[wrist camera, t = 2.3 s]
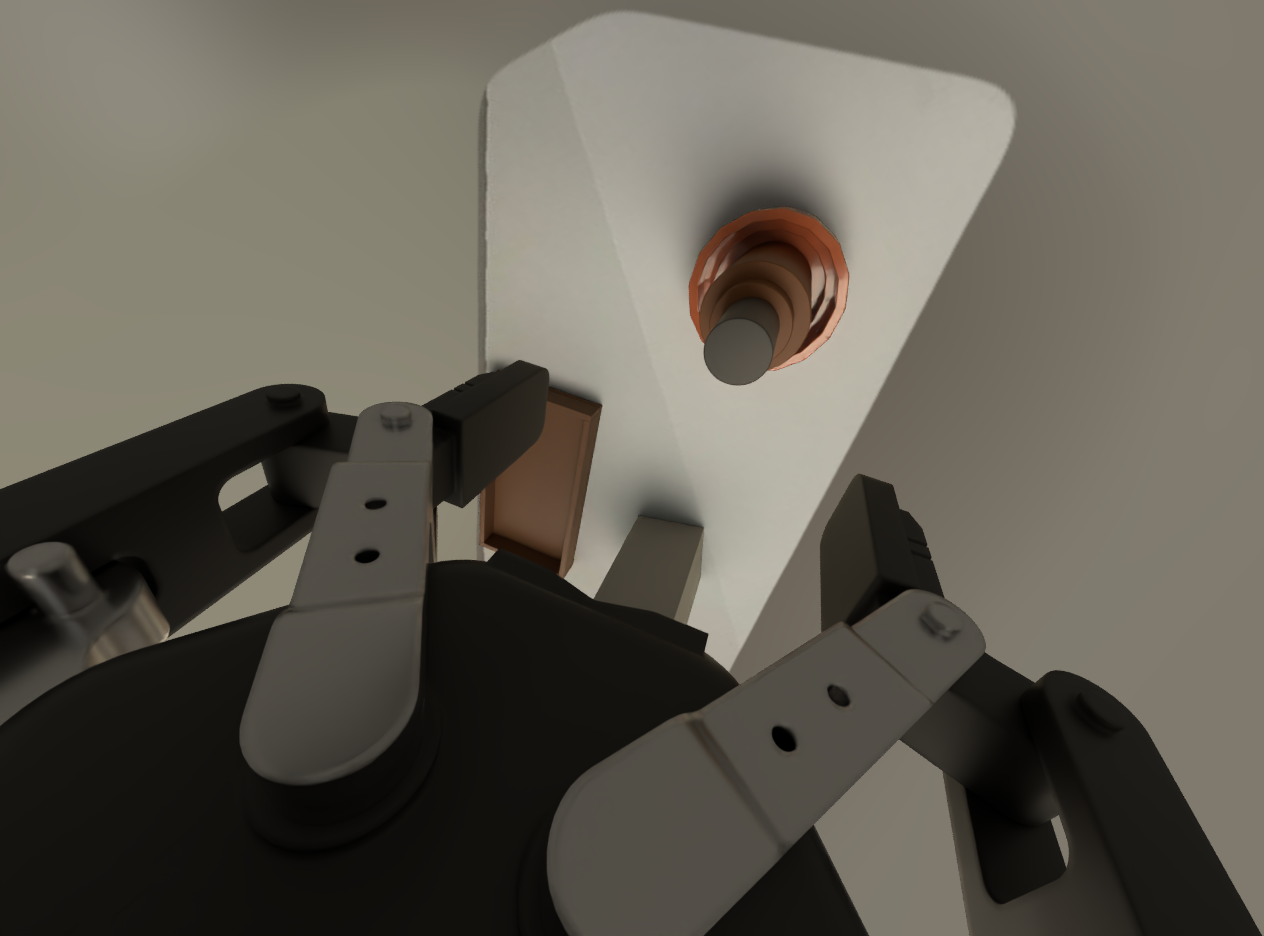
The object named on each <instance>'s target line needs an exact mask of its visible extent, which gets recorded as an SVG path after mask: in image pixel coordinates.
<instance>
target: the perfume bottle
mask: <svg viewBox="0 0 1264 936" xmlns="http://www.w3.org/2000/svg"><path fill="white" fill-rule="evenodd" d="M703 534H704V528H702V527H697V526H692V525H686V524H681V523H675V522H670V521H664V520H659V519H654V518H648V517H643V516H638V518H637V520H636V521H635V523H634V525H633V527H632V529H631V531H630V533H629V534H628V536H627V538H626V540H625V542H624V544H623V546H622V547H621V549H620V551H619V553H618V555H617V557H616V558H615V560H614V562H613V564H612V566H611V568H610V570H609V571H608V573H607V575H606V577H605V579H604V581H603V583H602V584H601V586H600V588H599V590H598V592H597V594H596V596H595V597H594V600H597V601H601V602H606V603H612V604H617V605H622V606H628V607H633V608H638V609H644V610H649V611H654V612H657V613H659V614H661V615H664V616H666V617H669V618H671V619H674V620H676V621H678V622H681V623H683V624H686V625H687V622H688V618H689V615H690V612H691V608H692V605H693V601H694V598H695V595H696V591H697V588H698V584H699V581H700V574H701V560H702V547H703Z"/></svg>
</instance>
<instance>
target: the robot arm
mask: <svg viewBox="0 0 1264 936" xmlns="http://www.w3.org/2000/svg"><path fill="white" fill-rule="evenodd" d="M548 386H549V372H548V370H547V369H546V368H543V367H540V366H537V365H534V364H531V363H528V362H525V361H522V360H518V361H516V362H515V363H513V364H511V365H509V366H507V367H506V368H504V369H502V370H500V371H499V372H498V371H495V372H490V373H485V374H481V375H477V376H476V377H474V378H472V379H470V380H468V381H466V382H465V384H461V385H459V386H457V387H456V388H454V390H450V391H448V392H446V393H444V394H442V395H441V396H439V397H437V398H435V399H433V400H431V401H429V402H428V403H426V404H424V405H422V406H420V405H417V404H413V403H408V402H386V403H380V404H376V405H373V406H371V407H368V408H367V409H365V410H363V411H362V412H361V413H360V415H359V417H357V416H351V415H345V414H338V413H332V412H328V410H327V405H326V400H325V395H324V394H323V392H321V391H320V390H318V389H316V388H314V387H311V386H306V385H300V384H279V385H271V386H266V387H262V388H259V389H256V390H253V391H251V392H248V393H246V394H243V395H240V396H238V397H236V398H233V399H230V400H228V401H225V402H223V403H220V404H218V405H215V406H213V407H210V408H207V409H205V410H202V411H200V412H197V413H194V414H192V415H189V416H187V417H184V418H182V419H179V420H176V421H174V422H171V423H169V424H167V425H164V426H161V427H159V428H156V429H153V430H151V431H148V432H146V433H143V434H141V435H138V436H135V437H133V438H130V439H128V440H125V441H123V442H120V443H117V444H115V445H112V446H110V447H107V448H105V449H102V450H100V451H97V452H94V453H92V454H89V455H87V456H84V457H82V458H79V459H77V460H74V461H71V462H69V463H66V464H64V465H61V466H59V467H56V468H53V469H51V470H48V471H46V472H43V473H41V474H38V475H35V476H33V477H30V478H28V479H25V480H23V481H20V482H18V483H15V484H12V485H10V486H7V487H5V488H2V489H0V936H869V935H868V933H867V931H866V929H865V927H864V925H863V923H862V921H861V919H860V917H859V915H858V913H857V911H856V909H855V907H854V905H853V903H852V901H851V899H850V897H849V895H848V893H847V891H846V889H845V887H844V885H843V883H842V881H841V879H840V877H839V875H838V873H837V870H836V868H835V866H834V864H833V863H832V861H831V858H830V856H829V854H828V852H827V850H826V848H825V846H824V844H823V843H822V840H821V838H820V836H819V834H818V832H817V830H816V828H815V826H814V824H815V823H816V822H817V821H818V819H820V818H821V816H823V815H824V814H825V813H826V812H827V811H828V809H830V807H832V806H833V805H834V804H835V802H837V801H838V799H840V798H841V797H842V796H843V795H844V794H845V793H846V792H847V791H848V790H849V789H850V788H851V787H852V786H853V785H854V784H855V782H857V781H858V780H859V779H860V778H861V777H862V776H863V775H864V773H866V772H867V770H869V769H870V768H871V767H872V766H873V764H875V763H876V762H877V761H878V760H879V759H880V758H881V757H882V756H883V754H885V753H886V751H888V750H889V749H890V748H891V747H892V746H893V745H894V744H895V743H896V741H897V740H901V741H902V742H903V743H905V744H906V745H908V746H909V747H910V748H912V749H913V750H915V751H916V752H917V753H919V754H920V755H921V756H923V757H924V758H926V759H927V760H928V761H930V762H931V763H932V764H934V765H935V766H937V767H938V768H939V769H941V770H942V771H943V777H944V783H945V789H946V795H947V802H948V807H949V814H950V820H951V826H952V832H953V838H954V845H955V851H956V857H957V863H958V869H959V875H960V881H961V888H962V894H963V900H964V906H965V912H966V918H967V924H968V930H969V936H1262V935H1261V933H1260V931H1259V929H1258V928H1257V926H1256V924H1255V922H1254V921H1253V919H1252V917H1251V915H1250V913H1249V911H1248V910H1247V908H1246V906H1245V904H1244V903H1243V901H1242V899H1241V897H1240V895H1239V894H1238V892H1237V890H1236V889H1235V887H1234V885H1233V883H1232V881H1231V880H1230V878H1229V876H1228V874H1227V872H1226V871H1225V869H1224V867H1223V865H1222V863H1221V862H1220V860H1219V858H1218V856H1217V855H1216V853H1215V851H1214V849H1213V847H1212V846H1211V844H1210V842H1209V840H1208V839H1207V837H1206V835H1205V833H1204V832H1203V830H1202V828H1201V826H1200V824H1199V823H1198V821H1197V819H1196V817H1195V816H1194V814H1193V812H1192V810H1191V808H1190V807H1189V805H1188V803H1187V801H1186V799H1185V798H1184V796H1183V794H1182V792H1181V791H1180V789H1179V787H1178V785H1177V783H1176V782H1175V780H1174V778H1173V776H1172V775H1171V773H1170V771H1169V769H1168V768H1167V766H1166V764H1165V762H1164V760H1163V758H1162V757H1161V755H1160V753H1159V752H1158V750H1157V748H1156V746H1155V744H1154V742H1153V741H1152V739H1151V737H1150V736H1149V734H1148V732H1147V731H1146V729H1145V728H1144V727H1143V725H1142V724H1141V723H1140V721H1139V720H1138V719H1137V718H1136V717H1135V716H1134V715H1133V714H1132V713H1131V712H1130V711H1129V710H1128V709H1127V708H1126V707H1125V706H1124V705H1123V704H1122V703H1121V702H1119V701H1118V700H1117V699H1116V698H1115V697H1113V696H1112V695H1111V694H1109V693H1108V692H1106V691H1105V690H1104V689H1102V688H1100V687H1099V686H1097V685H1095V684H1094V683H1092V682H1090V681H1089V680H1086V679H1085V678H1083V677H1080V676H1078V675H1075V674H1072V673H1070V672H1065V671H1057V670H1055V671H1050V672H1048V673H1046V674H1045V675H1044V676H1043V677H1042V678H1040V679H1039V680H1038V681H1037V682H1036V683H1034V682H1033V681H1031V680H1029V679H1028V678H1026V677H1024V676H1023V675H1021V674H1019V673H1018V672H1016V671H1014V670H1013V669H1011V668H1009V667H1007V666H1006V665H1004V664H1002V663H1001V662H999V661H997V660H996V659H994V658H993V657H991V656H989V655H988V654H987V653H985V649H986V643H985V639H984V636H983V634H982V632H981V631H980V629H979V628H978V626H977V625H976V624H975V622H974V621H973V620H972V619H971V618H970V617H969V616H968V615H967V614H966V613H965V612H964V611H962V610H961V609H960V608H959V607H957V606H956V605H954V604H953V603H952V602H950V601H948V600H946V599H945V598H944V595H943V592H942V589H941V586H940V582H939V579H938V576H937V573H936V570H935V567H934V564H933V561H931V554H930V551H929V548H927V542H926V539H925V536H924V533H923V530H922V528H921V527H920V526H919V524H918V523H917V522H916V521H915V520H914V518H913V517H912V516H911V515H910V513H909V512H907V511H904V510H901V509H899V505H898V502H897V498H896V494H895V491H894V487H893V485H892V484H889V483H886V482H883V481H880V480H877V479H874V478H871V477H868V476H865V475H862V474H857V475H856V476H855V477H854V478H853V480H852V481H851V483H850V484H849V486H848V488H847V490H846V492H845V493H844V495H843V497H842V498H841V500H840V502H839V504H838V506H837V507H836V509H835V511H834V512H833V514H832V516H831V518H830V519H829V521H828V523H827V525H826V527H825V530H824V532H823V535H822V539H821V543H820V571H821V572H820V575H821V633H820V634H819V635H817V636H816V637H814V638H813V639H811V640H810V641H808V642H806V643H805V644H803V645H801V646H800V647H798V648H797V649H795V650H794V651H792V652H790V653H789V654H787V655H786V656H784V657H783V658H781V659H779V660H778V661H776V662H775V663H773V664H772V665H770V666H768V667H767V668H765V669H764V670H762V671H760V672H759V673H757V674H756V675H754V676H753V677H751V678H749V679H748V680H746V681H745V682H743V683H742V684H740V685H739V684H738V682H737V681H736V680H735V678H734V677H733V676H732V675H731V674H730V673H729V672H728V671H727V670H726V669H725V668H724V667H723V666H721V665H720V664H719V663H718V662H717V661H716V660H714V659H713V658H712V657H711V656H709V655H708V654H706V653H705V652H704V651H705V647H706V642H707V638H708V633H705V632H703V631H700V630H698V629H695V628H693V627H691V626H688V625H686V624H683V623H681V622H678V621H676V620H674V619H671V618H669V617H666V616H664V615H661V614H659V613H657V612H654V611H649V610H644V609H638V608H633V607H628V606H622V605H617V604H612V603H606V602H601V601H597V600H594V599H592V598H590V597H589V596H587V595H586V594H584V593H583V592H581V591H580V590H579V589H577V588H576V587H574V586H573V585H572V584H570V583H569V582H567V581H566V580H564V579H563V578H562V577H560V576H559V575H557V574H556V573H555V572H553V571H552V570H550V569H549V568H547V567H545V566H542V565H540V564H538V563H535V562H533V561H530V560H528V559H525V558H523V557H521V556H518V555H516V554H513V553H511V552H508V551H506V550H504V549H501V548H499V549H498V550H497V551H496V552H495V553H494V555H493V556H492V557H491V558H490V559H489V560H488V561H487V562H485V561H478V560H450V561H440V562H437V527H438V524H437V523H438V522H437V520H438V515H437V506H438V505H439V504H440V503H441V502H443V501H446V502H448V503H450V504H453V505H456V506H458V507H460V508H463V507H465V506H466V505H467V504H468V503H469V502H470V501H471V500H472V499H474V498H475V497H476V496H477V495H478V494H479V493H480V492H481V491H483V490H484V489H485V488H486V487H487V486H488V485H489V484H490V483H491V482H493V481H494V480H495V479H496V478H497V477H498V476H499V475H500V474H501V473H503V472H504V471H505V470H506V469H507V468H508V467H509V466H510V465H512V464H513V463H514V462H515V461H516V460H517V459H518V458H519V457H520V456H522V455H523V454H524V453H525V452H526V451H527V450H528V449H529V448H530V447H532V446H533V445H534V444H535V443H536V442H537V440H538V439H539V437H540V435H541V433H542V431H543V428H544V423H545V415H546V405H547V395H548ZM260 462H261V463H262V466H263V469H264V473H265V476H266V480H267V483H268V485H267V486H265V487H263V488H262V489H260V490H258V491H256V492H255V493H253V494H251V495H250V496H248V497H246V498H244V499H243V500H241V501H239V502H238V503H236V504H235V505H233V506H231V507H229V508H228V509H226V510H224V511H221V508H220V506H219V503H218V496H219V493H220V490H221V488H222V487H223V485H224V484H225V483H226V482H227V481H228V480H229V479H231V478H232V477H234V476H236V475H238V474H240V473H242V472H243V471H245V470H247V469H249V468H251V467H253V466H255V465H257V464H258V463H260ZM310 532H312V533H311V537H310V540H309V544H308V547H307V550H306V553H305V556H304V560H303V563H302V566H301V570H300V573H299V576H298V579H297V583H296V586H295V589H294V593H293V596H292V599H291V602H290V604H289V605H286V606H283V607H279V608H276V609H273V610H269V611H266V612H263V613H259V614H256V615H253V616H249V617H246V618H242V619H239V620H236V621H232V622H229V623H226V624H222V625H219V626H215V627H212V628H208V629H205V630H202V631H199V632H195V633H191V634H188V635H185V636H182V637H178V638H175V639H172V640H168V641H166V640H167V638H168V637H170V636H171V635H172V634H173V633H175V632H176V631H178V630H179V629H180V628H182V627H183V626H184V625H186V624H187V623H188V622H190V621H191V620H192V619H194V618H195V617H196V616H198V615H199V614H201V613H202V612H203V611H205V610H206V609H207V608H209V607H210V606H211V605H213V604H214V603H216V602H217V601H218V600H219V599H221V598H222V597H223V596H225V595H226V594H228V593H229V592H230V591H232V590H233V589H234V588H236V587H237V586H239V584H241V583H243V582H244V581H245V580H247V579H248V578H249V577H251V576H252V575H253V574H255V573H256V572H257V571H259V570H260V569H261V568H263V567H264V566H265V565H267V564H268V563H270V562H271V561H272V560H274V559H275V558H276V557H278V556H279V555H280V554H282V553H283V552H285V551H286V550H287V549H288V548H290V547H291V546H293V545H294V544H295V543H297V542H298V541H299V540H301V539H302V538H303V537H305V536H306V535H307V534H309V533H310ZM1058 815H1059V817H1060V819H1061V823H1062V826H1063V829H1064V831H1065V834H1066V838H1067V841H1068V846H1069V860H1068V865H1067V868H1066V866H1065V863H1064V859H1063V856H1062V853H1061V851H1060V847H1059V844H1058V841H1057V838H1056V835H1055V832H1054V829H1053V826H1052V823H1051V819H1052V818H1054V817H1056V816H1058Z"/></svg>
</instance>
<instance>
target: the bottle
mask: <svg viewBox="0 0 1264 936" xmlns="http://www.w3.org/2000/svg"><path fill="white" fill-rule="evenodd" d="M811 306H812V273H811V269H810V265H809V263H808V261H807V259H806V258H805V256H804V255H803V254H802V252H800V251H799V250H798V249H797V248H795V247H794V246H792V245H790V244H788V243H784V242H779V241H770V242H764V243H761V244H758V245H756V246H754V247H752V248H751V249H749V250H748V251H747V252H745V253H744V254H743V255H742V256H741V257H740V258H739V259H738V260H736V261H735V262H734V263H733V264H732V265H731V266H730V267H729V268H727V269H726V270H725V271H724V272H723V273H722V274H721V275H720V276H719V277H718V278H717V279H716V280H715V281H714V282H713V283H712V284H711V286H710V287H709V289H708V290H707V292H706V294H705V296H704V298H703V301H702V304H701V308H700V314H699V324H700V331H701V335H702V338H703V341H704V343H705V345H704V359H705V363H706V366H707V367H708V369H709V371H710V372H711V373H712V374H713V376H715V377H716V378H717V379H718V380H720V381H722V382H724V383H727V384H730V385H746V384H749V383H752V382H754V381H756V380H757V379H759V378H760V377H761V376H763V374H764V373H765V372H766V371H767V370H770V369H773V368H775V367H778V366H780V365H781V364H783V363H785V362H786V361H787V360H789V359H790V358H791V357H792V356H793V355H794V354H795V353H796V352H797V351H798V350H799V348H800V347H801V346H802V344H803V342H804V341H805V339H806V336H807V334H808V331H809V328H810V323H811Z"/></svg>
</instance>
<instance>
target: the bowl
mask: <svg viewBox="0 0 1264 936" xmlns="http://www.w3.org/2000/svg"><path fill="white" fill-rule="evenodd" d="M770 241H779V242H784V243H788V244H790V245H792V246H794V247H795V248H797V249H798V250H799V251H800V252H802V254H803V255H804V256H805V258H806V259H807V261H808V263H809V265H810V269H811V273H812V306H811V323H810V328H809V331H808V334H807V336H806V339H805V341H804V342H803V344H802V346H801V347H800V348H799V350H798V351H797V352H796V353H795V354H794V355H793V356H792V357H791V358H790V359H789V360H787V361H786V362H785V363H783V364H781V365H780V366H778V367H775V368H773V369H770V370H773V371H775V370H779V369H781V368H784V367H787V366H789V365H792V364H795V363H797V362H800V361H803V360H804V359H806V358H807V357H809V356H810V355H811V354H812V353H813V352H814V351H816V350H817V349H818V348H819V347H820V346H821V345H822V344H824V343H825V342H826V341H827V340H828V339H829V338H830V337H831V335H832V333H833V331H834V329H835V327H836V326H837V324H838V322H839V320H840V318H841V316H842V315H843V313H844V311H845V308H846V301H847V293H848V284H849V272H848V269H847V266H846V262H845V259H844V256H843V253H842V250H841V247H840V244H839V242H838V240H837V238H836V236H835V235H834V234H833V233H832V232H831V231H830V230H829V229H828V228H827V227H826V226H825V225H824V224H823V223H822V222H821V221H820V220H819V218H818V217H815V215H812V214H809V213H806V212H804V211H801V210H798V209H795V208H792V207H788V206H782V207H773V208H763V209H757V210H754V211H751V212H748V213H746V214H745V215H743V216H741V217H739V218H738V219H736V220H734V221H732V222H730V223H729V224H727V225H725V226H723V227H721V229H719V230H718V232H717V233H716V234H715V235H714V236H713V238H712V239H711V240H710V241H709V243H708V244H707V245H706V246H705V247H704V249H703V250H702V251H701V252H700V254H699V256H698V259H697V261H696V264H695V267H694V270H693V273H692V276H691V279H690V282H689V305H690V316H691V318H692V321H693V323H694V325H695V327H696V330H697V332H698V334H699V337H700V339H701V340H702V342H703V343H704V341H703V338H702V335H701V331H700V324H699V314H700V308H701V304H702V301H703V298H704V296H705V294H706V292H707V290H708V289H709V287H710V286H711V284H712V283H713V282H714V281H715V280H716V279H717V278H718V277H719V276H720V275H721V274H722V273H723V272H724V271H725V270H726V269H727V268H729V267H730V266H731V265H732V264H733V263H734V262H735V261H736V260H738V259H739V258H740V257H741V256H742V255H743V254H744V253H745V252H747V251H748V250H749V249H751V248H752V247H754V246H756V245H758V244H761V243H764V242H770ZM704 344H705V343H704Z"/></svg>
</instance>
